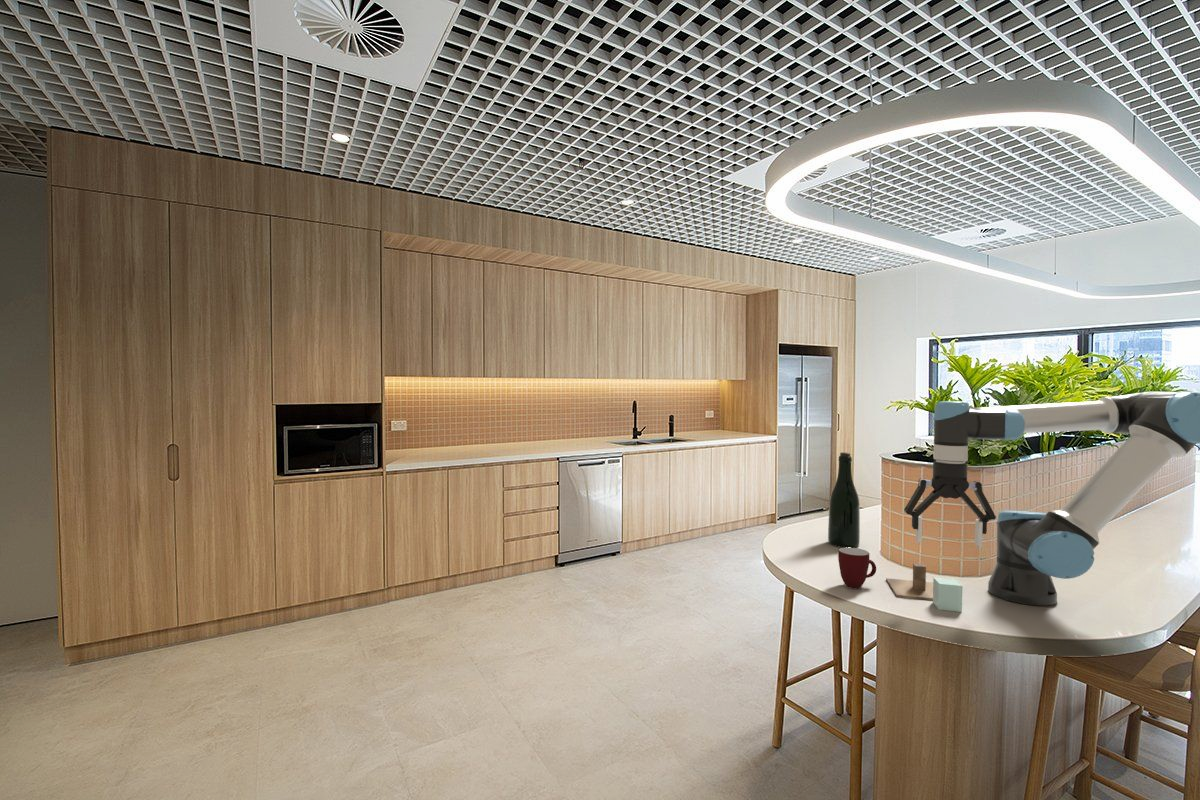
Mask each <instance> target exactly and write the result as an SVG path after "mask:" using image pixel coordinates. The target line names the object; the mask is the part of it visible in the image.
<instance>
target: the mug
mask: <svg viewBox="0 0 1200 800" xmlns="http://www.w3.org/2000/svg"><path fill="white" fill-rule="evenodd" d="M837 554H838V555H837V556H838V557H837V560H838V566H839V573H840V577H841V579H842V582H843V583H844V585H845V587H847V588H849V589H854V590H855V589H861V588H862V587H863V585H864V583H865V582H866V579H867V578H872V577H873V576H875V574H876V572H877V565H876V563H875V561H873V560H872V559H870V552H869V551H868V550H865V549H864V548H863V549H862V548H857V547H853V548H848V547H847V548H846V547H840V548H839V549H838V552H837ZM869 566H871V571H870V573H868V571H869Z"/></svg>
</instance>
